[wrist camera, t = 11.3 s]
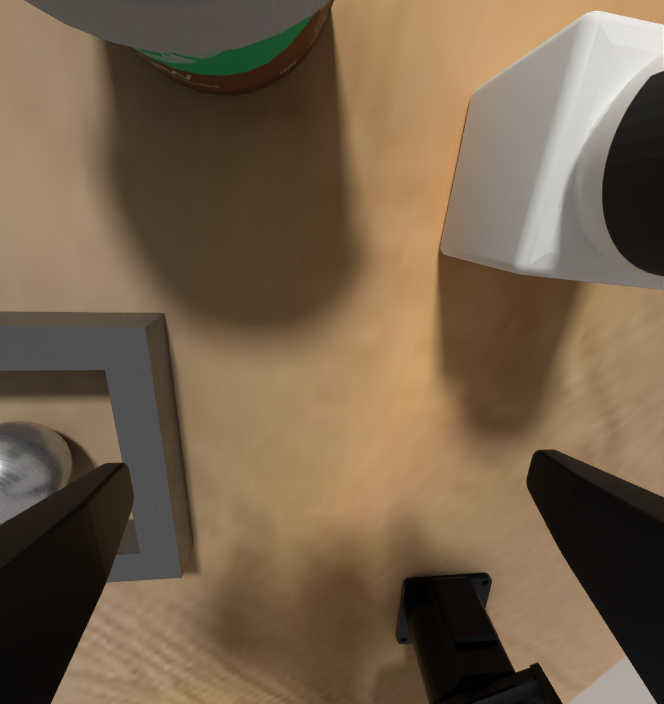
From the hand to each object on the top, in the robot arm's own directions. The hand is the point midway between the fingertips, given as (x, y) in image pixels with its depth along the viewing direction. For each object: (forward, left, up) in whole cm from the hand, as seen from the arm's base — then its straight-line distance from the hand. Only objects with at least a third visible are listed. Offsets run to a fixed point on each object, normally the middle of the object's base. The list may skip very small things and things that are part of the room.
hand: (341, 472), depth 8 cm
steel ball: (-7, +15, -10) cm, 19 cm away
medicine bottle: (+7, -10, -12) cm, 17 cm away
